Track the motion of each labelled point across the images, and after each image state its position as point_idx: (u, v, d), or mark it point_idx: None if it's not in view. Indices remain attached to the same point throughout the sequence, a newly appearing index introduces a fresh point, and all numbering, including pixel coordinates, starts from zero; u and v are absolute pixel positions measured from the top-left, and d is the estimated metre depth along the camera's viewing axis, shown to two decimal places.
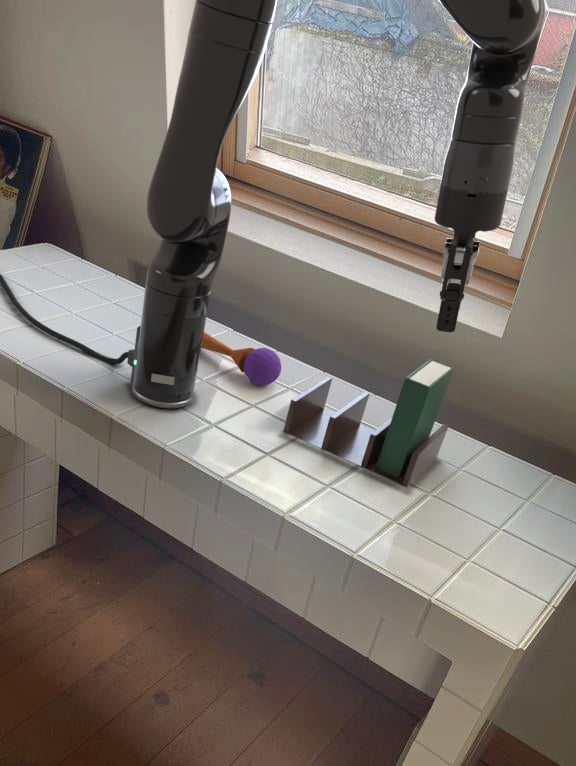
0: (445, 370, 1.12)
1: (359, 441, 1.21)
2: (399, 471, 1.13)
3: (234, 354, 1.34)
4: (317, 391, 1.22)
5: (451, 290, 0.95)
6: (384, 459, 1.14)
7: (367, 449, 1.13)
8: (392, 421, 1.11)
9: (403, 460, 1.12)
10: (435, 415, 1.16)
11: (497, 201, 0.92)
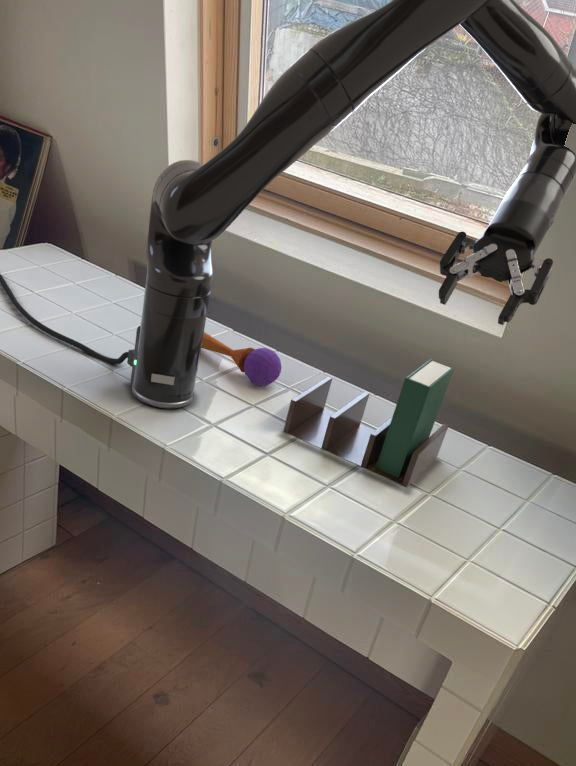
0: (445, 370, 1.12)
1: (359, 441, 1.21)
2: (399, 471, 1.13)
3: (234, 354, 1.34)
4: (317, 391, 1.22)
5: None
6: (384, 459, 1.14)
7: (367, 449, 1.13)
8: (392, 421, 1.11)
9: (403, 460, 1.12)
10: (435, 415, 1.16)
11: None
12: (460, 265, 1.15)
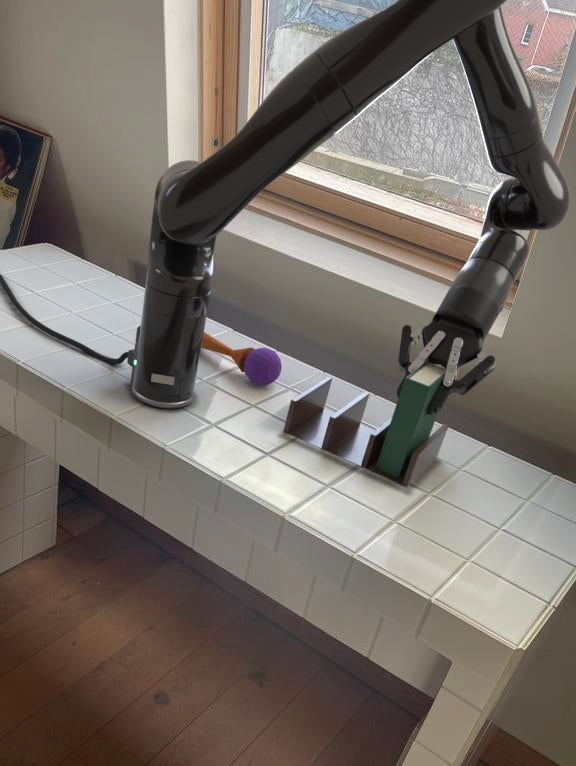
0: (445, 370, 1.12)
1: (359, 441, 1.21)
2: (399, 471, 1.13)
3: (234, 354, 1.34)
4: (317, 391, 1.22)
5: None
6: (384, 459, 1.14)
7: (367, 449, 1.13)
8: (392, 421, 1.11)
9: (403, 460, 1.12)
10: (435, 415, 1.16)
11: None
12: (416, 362, 1.12)
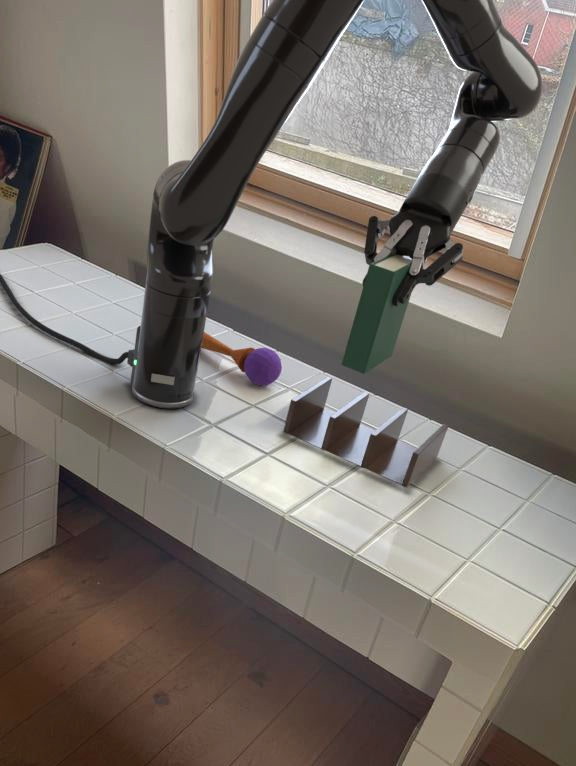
0: None
1: (359, 441, 1.21)
2: (365, 366, 1.10)
3: (235, 354, 1.34)
4: (317, 391, 1.22)
5: None
6: (349, 355, 1.10)
7: (367, 449, 1.13)
8: (357, 312, 1.07)
9: (369, 354, 1.09)
10: (403, 311, 1.13)
11: None
12: (383, 252, 1.08)
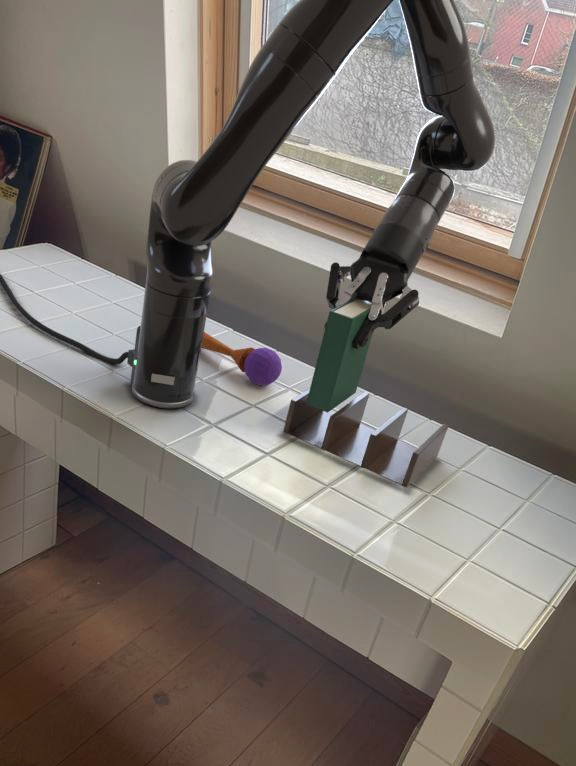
0: None
1: (359, 441, 1.21)
2: (328, 405, 1.16)
3: (235, 354, 1.34)
4: None
5: None
6: (313, 394, 1.16)
7: (367, 449, 1.13)
8: (319, 355, 1.13)
9: (331, 394, 1.15)
10: (365, 352, 1.18)
11: None
12: (343, 298, 1.14)
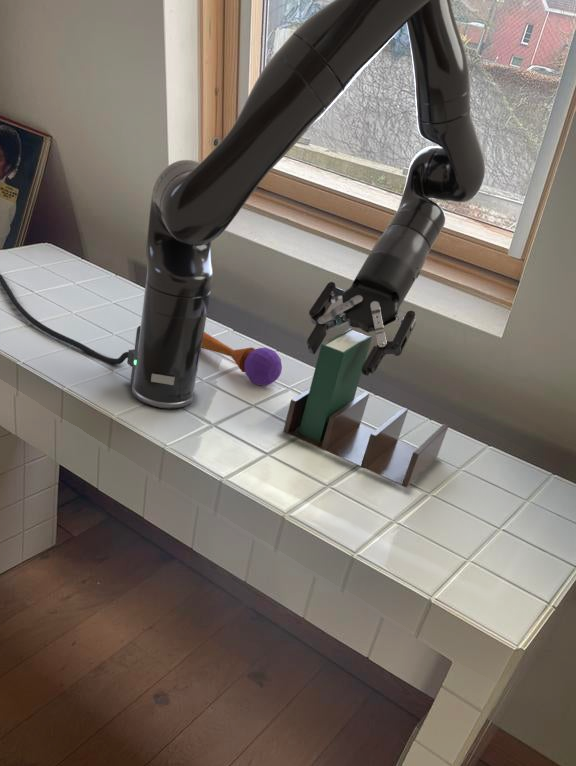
0: (363, 338, 1.17)
1: (359, 441, 1.21)
2: (320, 435, 1.18)
3: (235, 354, 1.34)
4: None
5: None
6: (305, 424, 1.19)
7: (367, 449, 1.13)
8: (311, 387, 1.16)
9: (323, 424, 1.17)
10: (356, 382, 1.21)
11: None
12: (328, 315, 1.17)
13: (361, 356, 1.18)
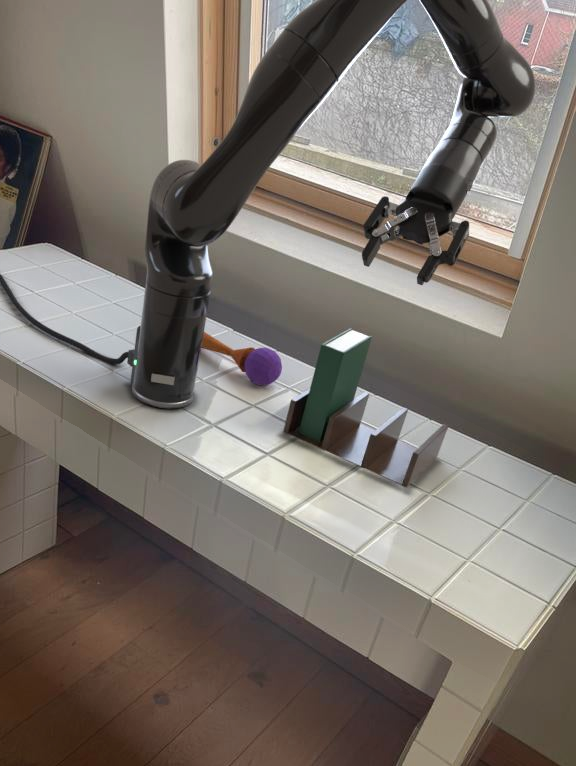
0: (363, 338, 1.17)
1: (359, 441, 1.21)
2: (320, 435, 1.18)
3: (235, 354, 1.34)
4: None
5: None
6: (305, 424, 1.19)
7: (367, 449, 1.13)
8: (311, 387, 1.16)
9: (323, 424, 1.17)
10: (356, 382, 1.21)
11: None
12: (382, 228, 1.19)
13: (361, 356, 1.18)
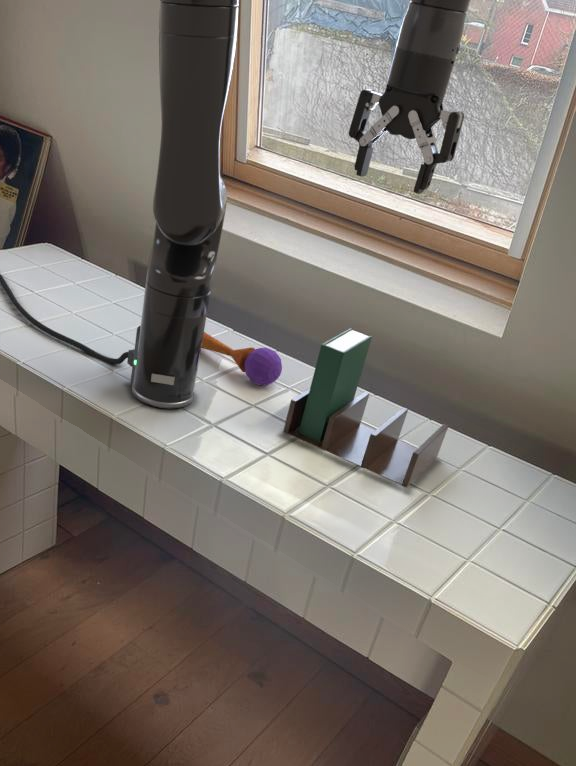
0: (363, 338, 1.17)
1: (359, 441, 1.21)
2: (320, 435, 1.18)
3: (235, 354, 1.34)
4: None
5: None
6: (305, 424, 1.19)
7: (367, 449, 1.13)
8: (311, 387, 1.16)
9: (323, 424, 1.17)
10: (356, 382, 1.21)
11: None
12: (368, 134, 1.10)
13: (361, 356, 1.18)
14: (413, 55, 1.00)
